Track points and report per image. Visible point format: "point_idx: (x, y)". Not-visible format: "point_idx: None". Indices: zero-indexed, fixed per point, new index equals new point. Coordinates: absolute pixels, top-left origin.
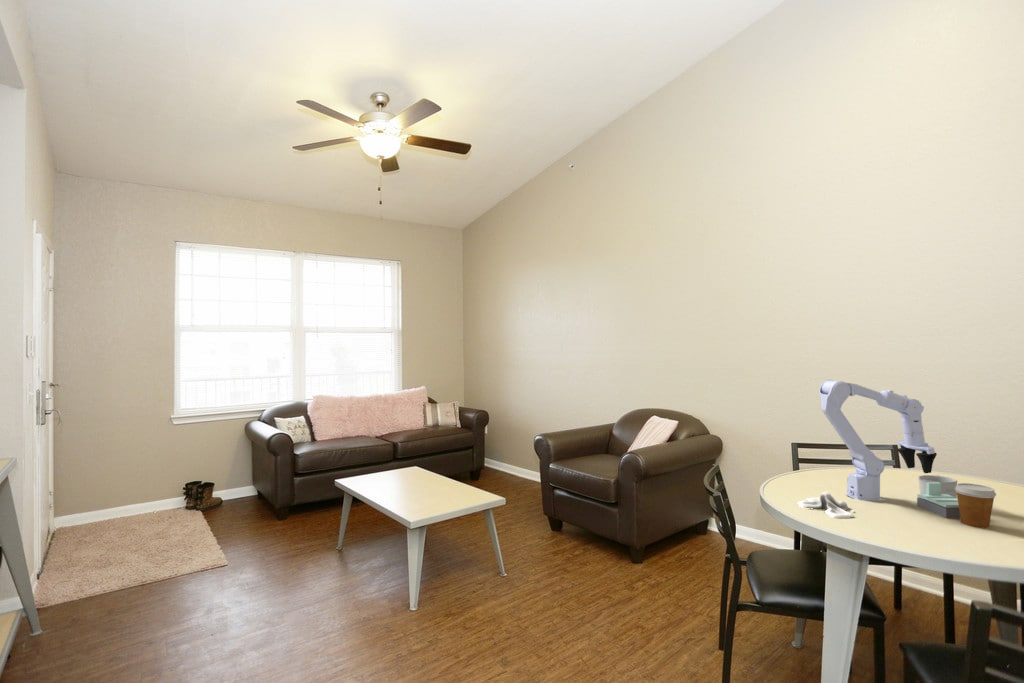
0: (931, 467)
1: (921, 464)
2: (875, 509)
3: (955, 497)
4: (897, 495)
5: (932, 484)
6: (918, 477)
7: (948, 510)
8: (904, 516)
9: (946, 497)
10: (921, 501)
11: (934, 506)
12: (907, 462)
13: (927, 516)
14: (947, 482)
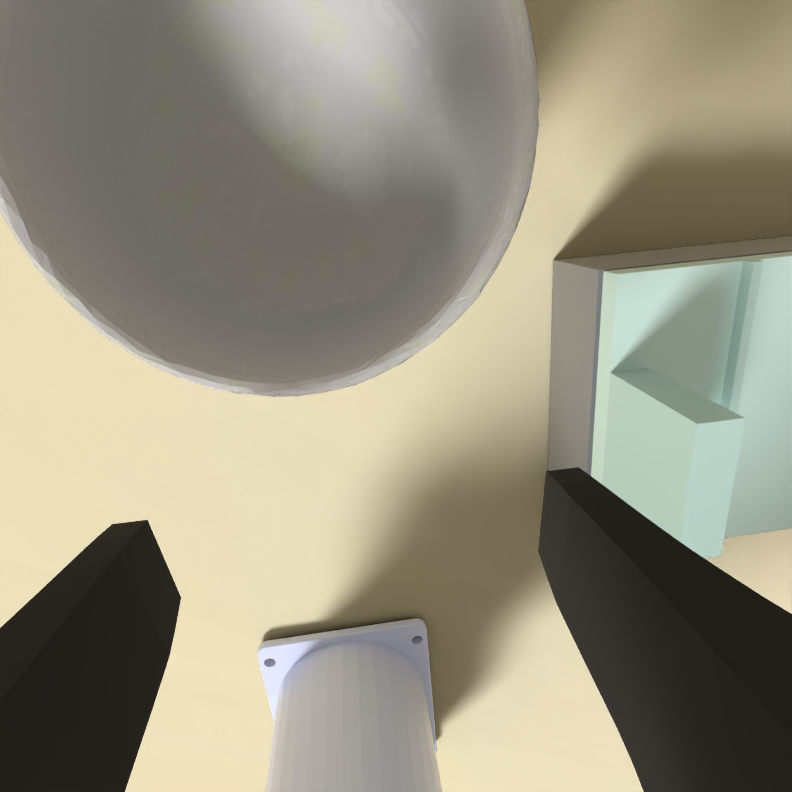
0: (653, 531)
1: (624, 733)
2: (579, 720)
3: (755, 282)
4: (202, 456)
5: (717, 511)
6: (192, 380)
7: None
8: None
9: (735, 374)
10: None
11: None
12: (142, 723)
13: None
14: (534, 157)
